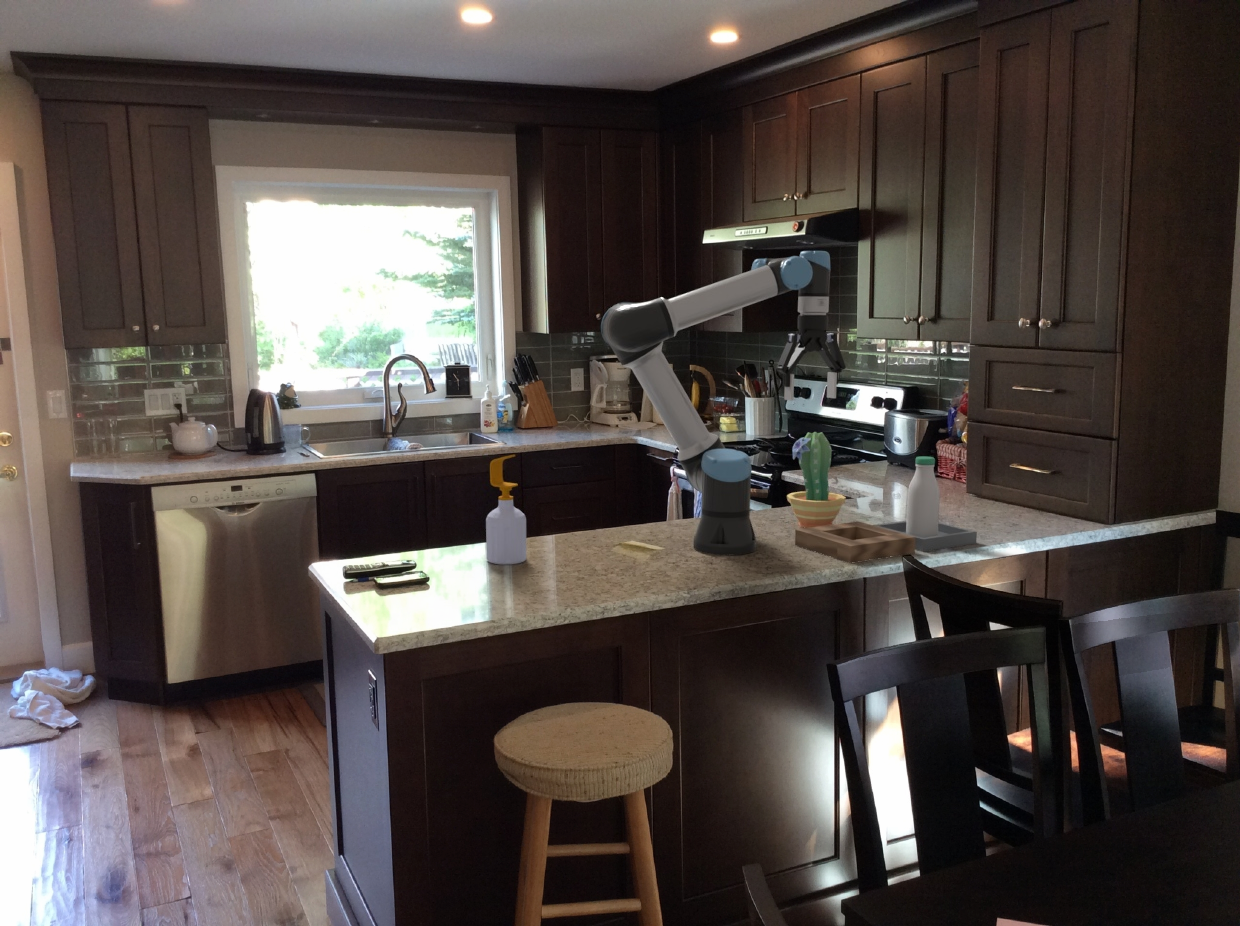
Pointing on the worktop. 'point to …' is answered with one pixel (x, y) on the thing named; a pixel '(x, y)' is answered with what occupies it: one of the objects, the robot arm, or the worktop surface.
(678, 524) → the worktop surface
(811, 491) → the potted cactus
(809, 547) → the block
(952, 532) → the tray
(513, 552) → the soap bottle
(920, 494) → the milk bottle
